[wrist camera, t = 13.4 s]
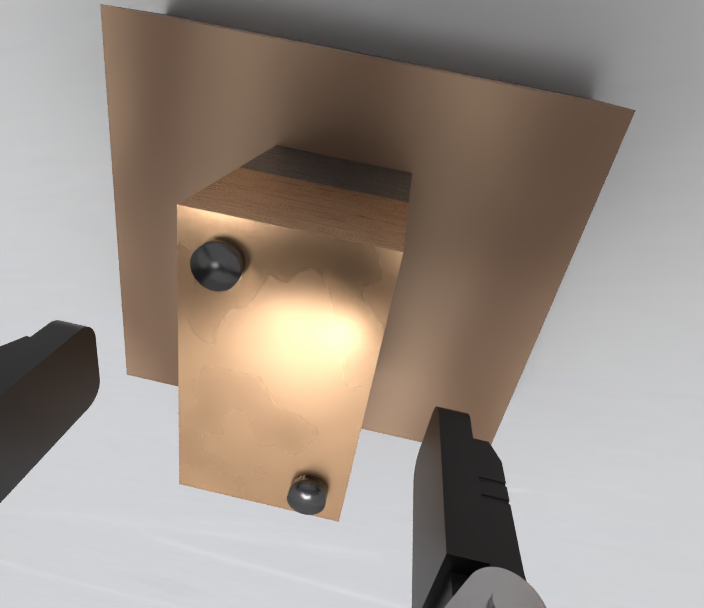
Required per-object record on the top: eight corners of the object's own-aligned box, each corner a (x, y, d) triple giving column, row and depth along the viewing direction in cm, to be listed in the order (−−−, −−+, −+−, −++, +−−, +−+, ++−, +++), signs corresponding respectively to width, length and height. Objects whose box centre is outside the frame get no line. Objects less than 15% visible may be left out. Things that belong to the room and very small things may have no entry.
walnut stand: (169, 328, 24) (126, 374, 21) (165, 14, 18) (100, 4, 14) (476, 397, 24) (485, 456, 20) (592, 99, 17) (635, 110, 14)
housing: (276, 144, 15) (167, 210, 9) (412, 173, 15) (402, 260, 9) (258, 346, 19) (172, 495, 13) (366, 371, 19) (336, 534, 13)
